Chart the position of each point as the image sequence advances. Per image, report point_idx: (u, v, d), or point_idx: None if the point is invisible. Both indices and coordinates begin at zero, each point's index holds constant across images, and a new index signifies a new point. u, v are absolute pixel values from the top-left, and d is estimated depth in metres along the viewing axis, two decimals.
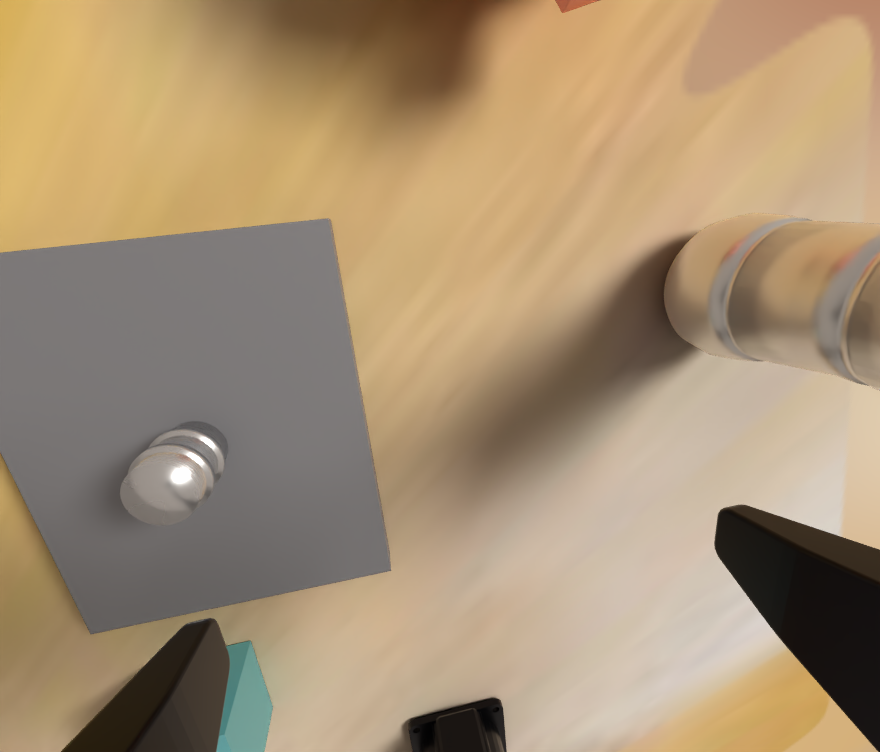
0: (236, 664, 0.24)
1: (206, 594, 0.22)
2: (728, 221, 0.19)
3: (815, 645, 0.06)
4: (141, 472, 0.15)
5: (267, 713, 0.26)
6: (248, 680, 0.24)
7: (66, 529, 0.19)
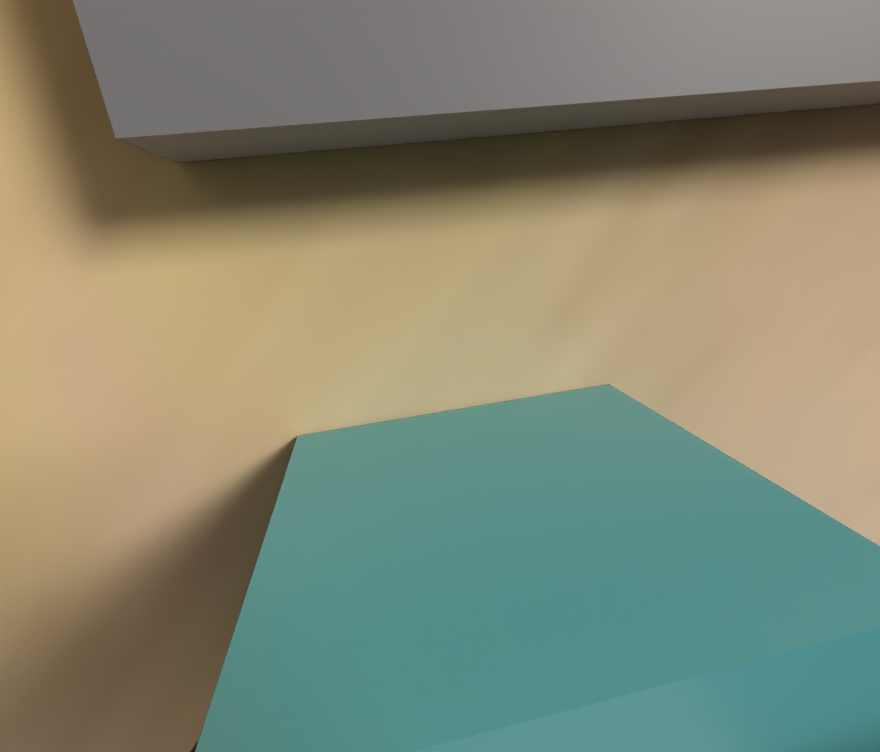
0: (631, 417, 0.07)
1: None
2: None
3: None
4: None
5: None
6: None
7: None
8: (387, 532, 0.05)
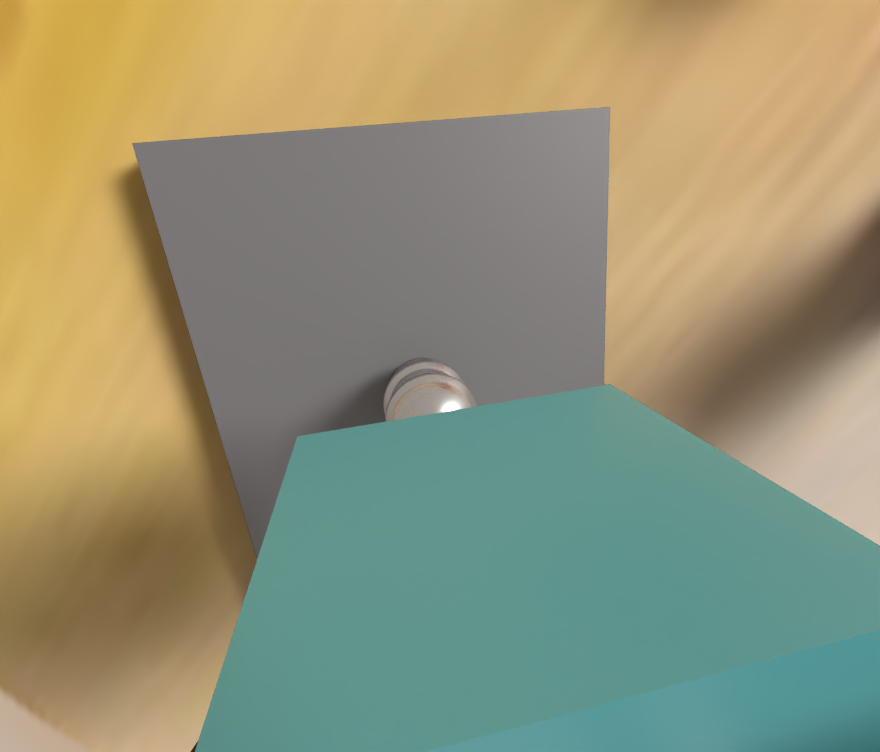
0: (632, 417, 0.07)
1: None
2: None
3: None
4: (423, 402, 0.12)
5: None
6: None
7: (265, 486, 0.16)
8: (387, 533, 0.05)
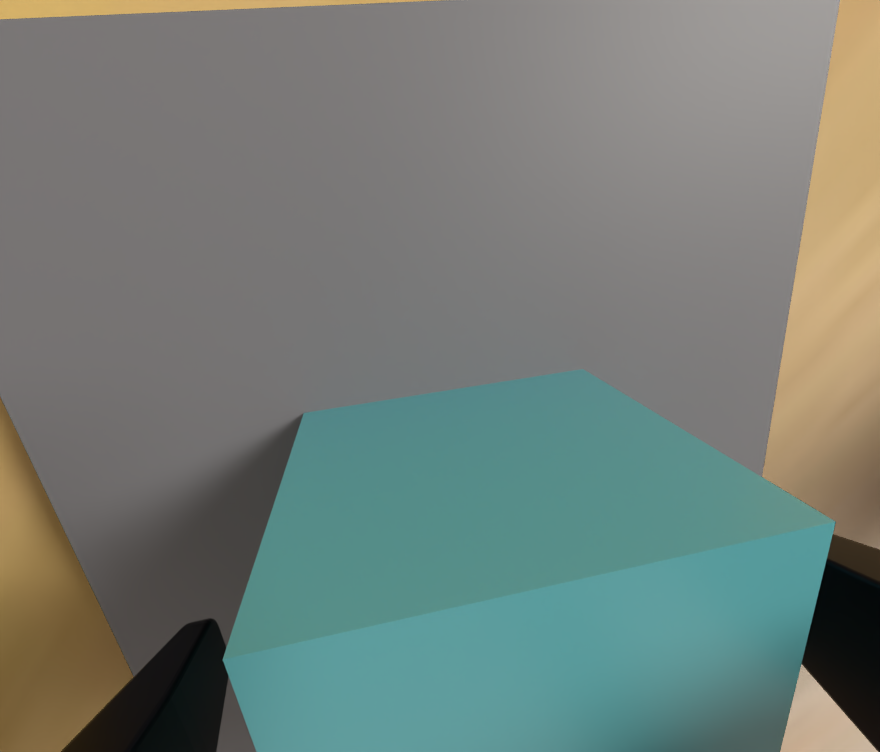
0: (598, 395, 0.07)
1: None
2: None
3: (815, 645, 0.06)
4: None
5: None
6: None
7: None
8: (382, 483, 0.06)
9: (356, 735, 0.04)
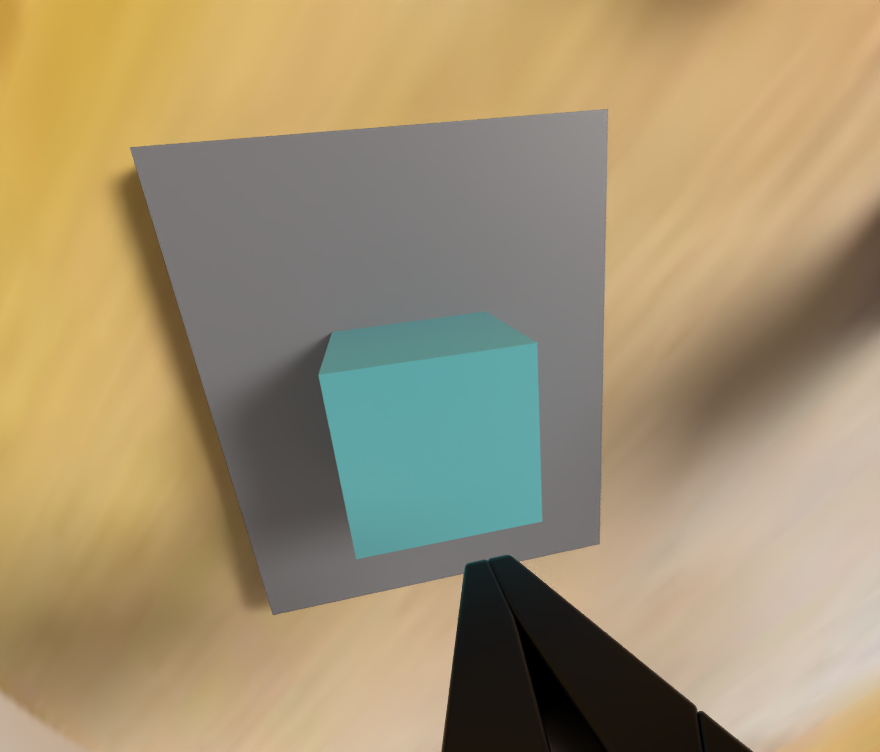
0: (484, 319, 0.14)
1: (402, 569, 0.19)
2: None
3: None
4: None
5: None
6: None
7: (264, 489, 0.17)
8: (372, 346, 0.13)
9: (361, 415, 0.11)
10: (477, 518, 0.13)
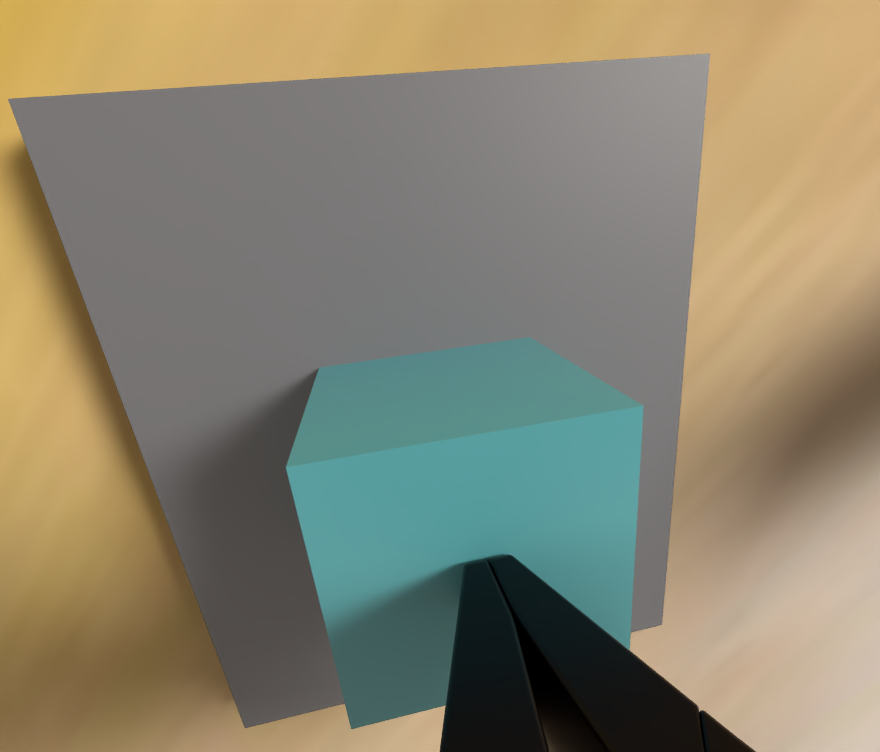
0: (533, 352, 0.10)
1: None
2: None
3: None
4: None
5: None
6: None
7: (229, 575, 0.12)
8: (375, 400, 0.08)
9: (358, 526, 0.07)
10: None
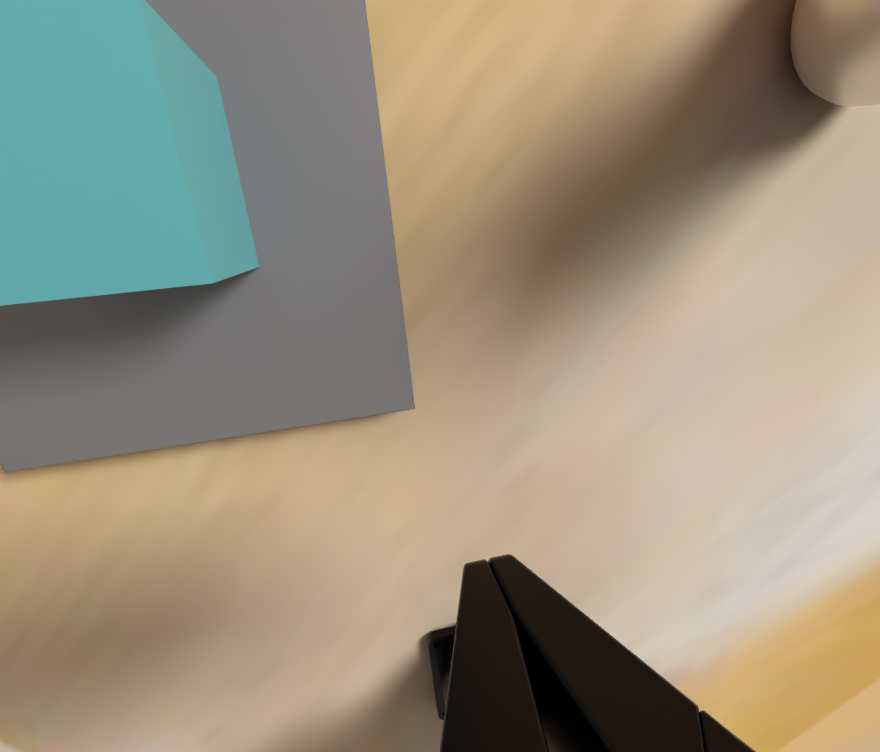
0: None
1: (165, 423, 0.16)
2: None
3: None
4: None
5: (248, 247, 0.14)
6: (209, 104, 0.12)
7: None
8: None
9: None
10: (113, 267, 0.10)
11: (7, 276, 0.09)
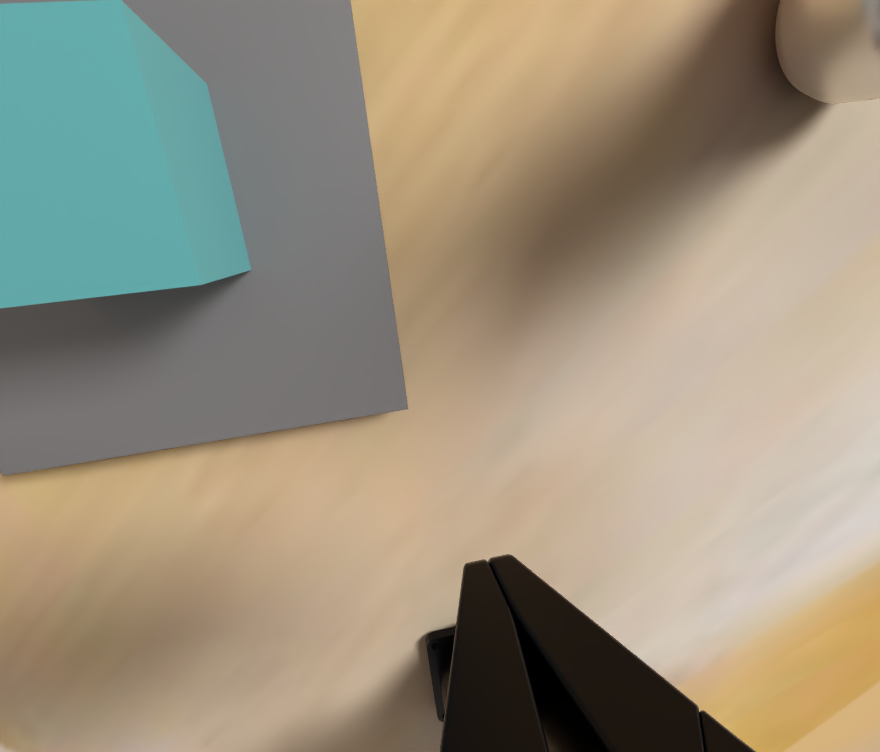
0: None
1: (161, 426, 0.16)
2: None
3: None
4: None
5: (240, 250, 0.14)
6: (198, 110, 0.12)
7: None
8: None
9: None
10: (103, 270, 0.10)
11: None
